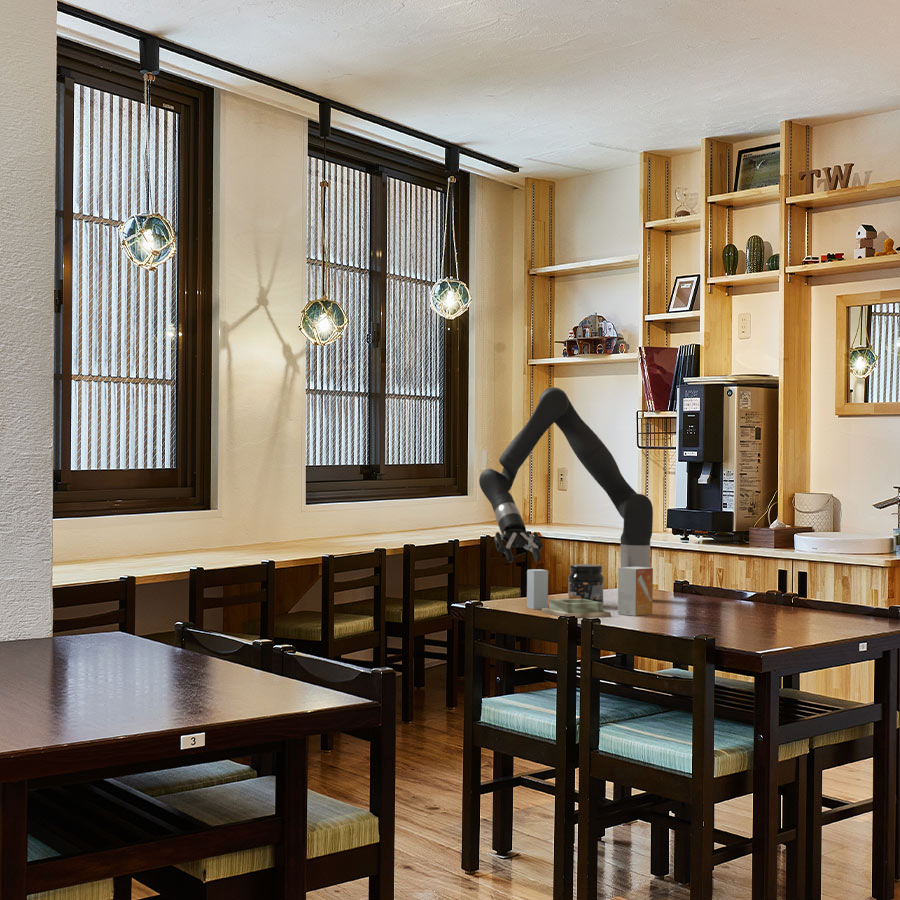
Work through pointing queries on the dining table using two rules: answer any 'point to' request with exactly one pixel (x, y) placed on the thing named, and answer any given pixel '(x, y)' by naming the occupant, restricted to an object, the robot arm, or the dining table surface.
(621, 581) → the small box
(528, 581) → the block
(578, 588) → the supplement container
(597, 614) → the cradle jig
